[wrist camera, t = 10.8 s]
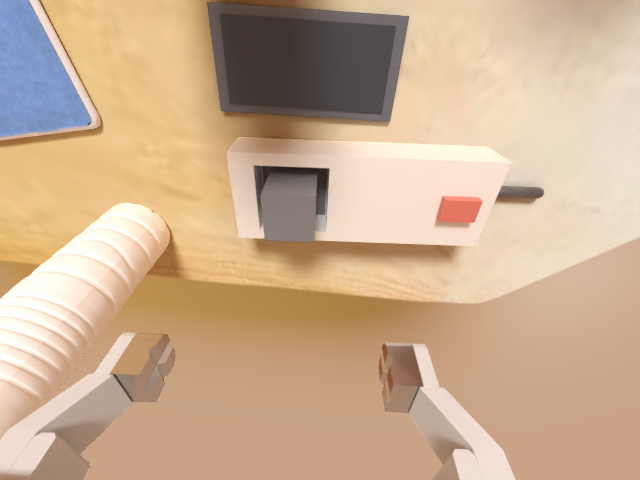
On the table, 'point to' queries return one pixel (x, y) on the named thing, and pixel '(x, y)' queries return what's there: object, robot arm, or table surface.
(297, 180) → the block
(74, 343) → the water bottle
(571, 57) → the table surface
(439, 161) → the power strip
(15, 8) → the tablet computer
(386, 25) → the phone
